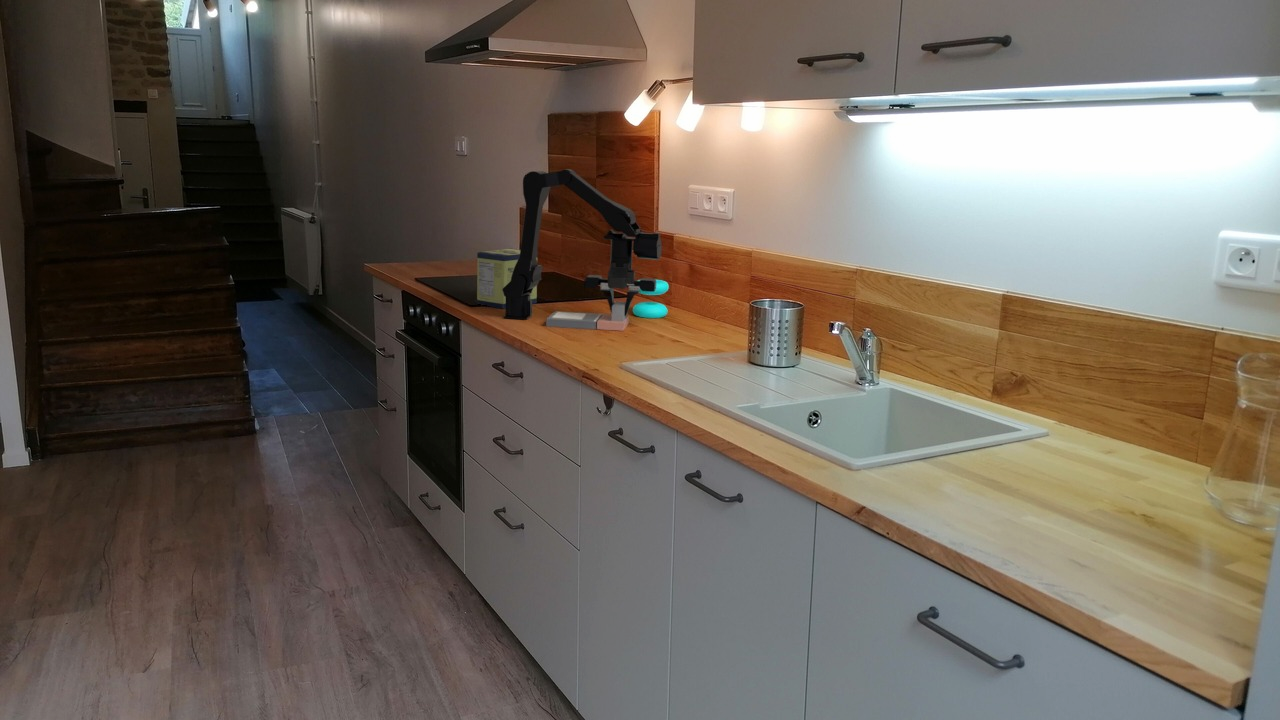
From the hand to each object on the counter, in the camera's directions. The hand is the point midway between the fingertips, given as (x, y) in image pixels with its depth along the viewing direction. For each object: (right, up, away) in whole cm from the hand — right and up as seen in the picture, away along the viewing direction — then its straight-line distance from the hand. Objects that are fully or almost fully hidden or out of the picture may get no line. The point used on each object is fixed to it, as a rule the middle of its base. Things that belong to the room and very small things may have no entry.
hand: (619, 315), depth 249 cm
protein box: (-34, +4, +28) cm, 44 cm away
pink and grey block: (-2, -3, +1) cm, 3 cm away
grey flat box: (-12, -2, +2) cm, 12 cm away
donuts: (+8, +1, +19) cm, 20 cm away
